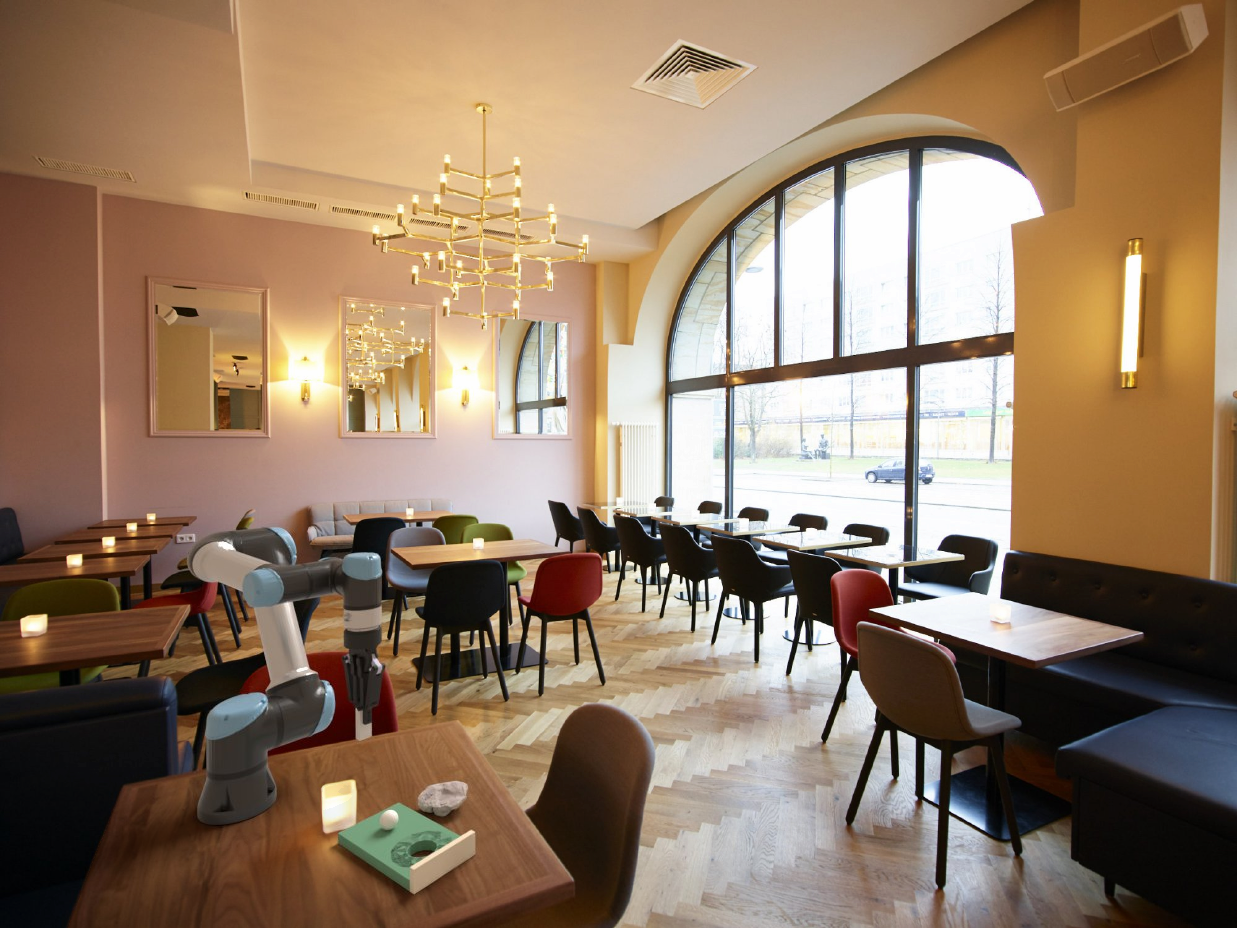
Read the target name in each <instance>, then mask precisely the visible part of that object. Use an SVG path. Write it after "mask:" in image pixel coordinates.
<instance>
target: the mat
mask: <svg viewBox="0 0 1237 928" xmlns="http://www.w3.org/2000/svg"><path fill="white" fill-rule="evenodd" d="M387 810H394V811H395V812H396V813H397V814H398V823H397V825H396V826H395V827H394V828H393V829H391V830H384V829H383V828H382V827H381V826H380V817H381V815H382V814H383V813H384V812H385V811H387ZM337 843H338V844H339V845H340V846H342V847H343V848H345V849H347V851H349V852H350V853H352V854H353V855H355V856H356V857H358V858H359V859H361V860H362V861H364V862H365V863H367V864H369V866H371V867H373V868H374V869H376V870H377V871H379V872H381V873H382V874H383V875H385V876H386V877H387V878H389V879H391V880H392V881H393V882H396V883H397V884H398V885H399V886H401V887H402V888H404V889H405V890H407V891H408V892H410V893H411V894H412V895H416V893H419V892H420V891H421V890H423V889H424V888H426V887H428V886H429V885H431V884H432V883H434V882H435V881H437V880H439V879H440V878H441V877H443V876H445V875H446V874H447V873H449V872H451V871H452V870H454V869H455V868H457V867H459V866H460V865H461V864H463V863H465V862H466V861H468V860H469V859H471V858H472V857H474V856H475V855H476V831H474V830H473V829H470V830H468V831H467V832H465V833H464V834H462V835H460V834H457V833H456V832H454V831H452V830H450V829H448V828H446V826H445V827H444V826H443V825H441V824H440V823H437V822H436V821H434V820H432V819H430V818H428V817H426V816H425V815H422V814H421V813H419V812H417V811H415V810H414V809H412V808H410V807H408V806H406V805H404V804H402V803H401V802H397V803H395V804H393V805H391V806H389V807H387V808H385V809H383V810H381V811H379V812H377V813H376V814H373V815H371V816H369V817H367V818H365V819H363V820H361V821H359V822H357V823H356V824H354V825H351V826H350V827H347V828H346V829H344V830H342V831H339V832H338V833H337ZM422 851H432V852H431V853H430V854H428V855H426V856H422V857H421V856H420V857H417V856H415V857H414V856H412V855H414V854H416V853H418V852H422Z"/></svg>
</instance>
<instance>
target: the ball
mask: <svg viewBox="0 0 1237 928" xmlns="http://www.w3.org/2000/svg"><path fill="white" fill-rule="evenodd" d="M397 823H398V814H397V813H396V812H395V811H394V810H387V811H385V812H384V813H383V814H382V815H381V817H380V826H381V827H382V828H383V829H384V830H391V829H393V828H394V827H395V826H396V825H397Z"/></svg>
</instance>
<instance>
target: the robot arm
mask: <svg viewBox="0 0 1237 928" xmlns="http://www.w3.org/2000/svg"><path fill="white" fill-rule="evenodd" d="M186 558H187V559H186V564H187V568H188V570H189V571H190V573H191V575H193V576H194V577H195V578H197V579H199V580H202V581H203V582H207V583H219V584H220V583H221V584H223V585H226V586H228V587H230V588H233V589H235V590H238V591H240V592H242V597H243V598H244V599H243V600H244V601H245V602H246V604H247V605H248V606H249V607H250V608H253V611H254V615H255V620H256V624H257V628H258V632H259V636H260V641H261V645H262V649H263V653H264V657H265V661H266V665H267V670H268V674H269V675H268V676H269V679H270V683H269V685H268V686H267V688H266V689H265V694H264V693H262V692H250V693H248V694H247V693H244V694H243V693H242V694H238V695H236V696H235V695H234V696H233V697H230V698H227V699H226V700H224V701H221V702H219V703H218V704H217V705H215V706H214V707H213V708H212V709H211V710H210V711H209V713H208V714H207V717H206V729H205V732H204V736H205V744H206V748H205V749H206V753H205V754H206V778H205V783H204V785H203V788H202V792H201V794H200V797H199V800H198V802H197V808H196V809H197V813H196V814H197V819H198V820H199V822H200V823H202V824H205V825H211V826H218V825H219V826H221V825H230V824H235V823H238V822H239V823H240V822H242V821H246V820H249V819H251V818H253V817H256V816H258V815H259V814H262V813H263V812H265V811H266V810H268V809H269V808H270V807H272V805H274V803H275V802H276V800H277V785H276V782H275V780H274V777H273V775H272V772H271V770H270V768H269V765H268V751H271V750H273V749H276V748H278V747H281V746H284V745H287V744H290V743H293V742H296V741H298V740H299V741H300V740H302V739H304V738H309V737H310V738H311V737H312V736H313V735H315V734H317V733H320V732H322V731H324V730H326V729H327V728H328V726H329V725H330V724H331V722H332V721H333V717H334V714H335V709H336V700H335V691H334V689H333V687H332V685H330V682H329V681H327V680H324V679H322V680H321V679H320V677H319V673H318V672H317V671H315V670H312V669H311V668H310V665H309V661H308V658H307V654H306V650H305V649H306V648H305V646H304V643H303V642H304V641H303V637H302V634H301V631H300V630H301V629H300V627H299V621H298V617H297V614H296V611H295V607H294V602H296V601H297V602H298V601H303V600H308V599H315V598H319V597H324V596H325V597H326V596H331V595H339V596H342V600H343V603H342V604H343V607H342V609H343V616H342V620H343V627H344V630H343V647H344V648H345V649H347V650H348V652H347V654H344V655H342V656H341V662H342V664H343V667H344V675H345V682H346V683H345V684H346V691H347V697H348V698H347V699H348V702H349V703H352V705H353V707H354V708H355V710H354V711H355V714H354V715H355V740H357V741H359V742H361V741H363V740H366V739H368V738H371V737H372V736H373V734H372V733H373V732H372V731H373V729H372V728H373V727H372V726H373V725H372V724H373V723H372V722H373V719H372V718H373V708H375V707H378V706H379V704H380V697H381V689H382V683H383V674H384V672H385V669H386V667H387V666H386V664H385V663H384V662H383V663H380V661H379V654H378V649H377V648H378V646H380V645H381V643H382V641H383V633H382V632H383V628H382V626H381V625H382V623H383V613H382V612H383V605H382V590H383V589H382V583H383V582H382V580H383V579H382V576H383V570H382V565H381V564H382V561H381V556H380V555H379V553H375V552H354V553H349V554H347V555H344V557H343V559H342V558H339V557H335V556H334V557H324V558H321V559H319V560H317V561H313V562H312V561H311V562H307V563H298V564H296V562H297V547H296V543H295V541H294V539H293V536H291V534H290V533H289V532H288V531H287V530H286V529H284V528H282V527H275V526H274V527H267V526H263V527H261V528H248V529H236V530H222V531H217V532H213V533H210V534H208V535H205V536H203V537H202V538H200V539H198V540H197V541H196V542H195V543H194V544H193V545H192V546H191V548H190V550H189V551H188V554H187V556H186Z"/></svg>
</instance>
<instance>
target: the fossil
mask: <svg viewBox="0 0 1237 928" xmlns="http://www.w3.org/2000/svg"><path fill="white" fill-rule="evenodd" d="M468 790H469V786H468V784H467V783H465V782H462V781H458V780H453V781H446V782H441V783H434V784H430V785H428V786H427V787H426V788H424V789H423V791H422V792H420V793H419V794H418V797H417V799H416V800H417V806H418V808H419V809H420V810H421V811H422V812H423V813H424V812H426V813H433V814H434V815H435V816H437V817H446V816H447V815H449V814H450V813H451V811H453V810H457V809H458V808H459V807H460V806H462V804H463V803H464V802H465V801H466V800H467V796H468V795H467V794H468Z"/></svg>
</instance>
